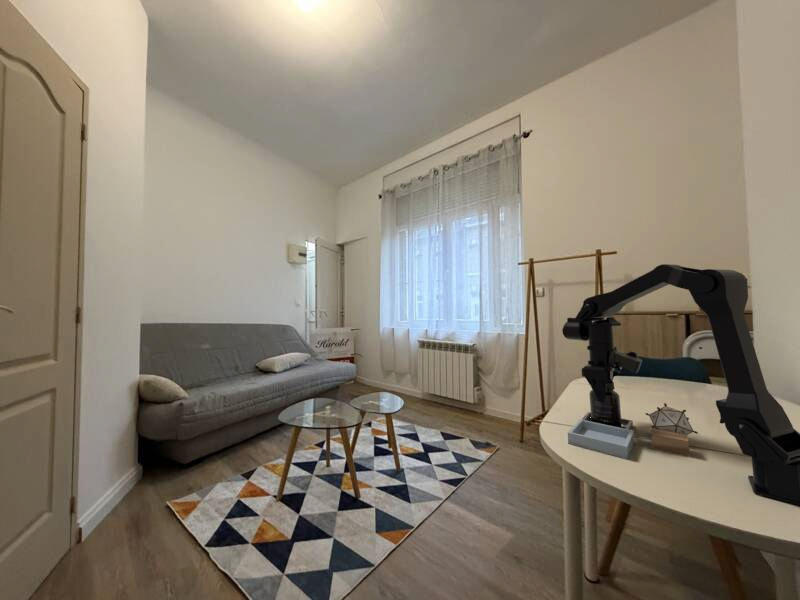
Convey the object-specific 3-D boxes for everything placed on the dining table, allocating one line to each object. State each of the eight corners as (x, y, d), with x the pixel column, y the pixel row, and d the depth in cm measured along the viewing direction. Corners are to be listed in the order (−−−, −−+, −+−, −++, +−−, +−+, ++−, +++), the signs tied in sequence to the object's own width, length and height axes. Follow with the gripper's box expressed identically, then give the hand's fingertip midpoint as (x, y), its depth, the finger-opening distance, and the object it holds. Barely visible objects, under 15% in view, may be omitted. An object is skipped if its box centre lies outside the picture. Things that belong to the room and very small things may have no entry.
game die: (668, 457, 69) (642, 424, 69) (656, 431, 76) (632, 402, 77) (714, 447, 64) (686, 412, 65) (697, 421, 72) (671, 389, 72)
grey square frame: (627, 438, 71) (627, 432, 72) (579, 427, 79) (579, 421, 79) (632, 426, 79) (632, 420, 79) (588, 417, 86) (588, 412, 86)
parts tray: (627, 459, 62) (627, 446, 62) (568, 443, 70) (567, 432, 70) (634, 441, 70) (633, 430, 70) (580, 429, 78) (579, 419, 78)
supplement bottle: (592, 419, 84) (590, 377, 84) (622, 424, 79) (619, 380, 80) (589, 426, 78) (587, 381, 79) (621, 432, 74) (618, 385, 75)
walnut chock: (689, 457, 62) (688, 441, 62) (652, 449, 66) (651, 434, 66) (688, 451, 65) (687, 435, 65) (652, 443, 69) (651, 428, 69)
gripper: (633, 347, 68) (638, 414, 67) (642, 340, 81) (646, 397, 80) (579, 344, 75) (583, 405, 75) (595, 339, 89) (598, 390, 88)
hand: (604, 399), depth 79 cm, fingers closed on supplement bottle, 7 cm apart
